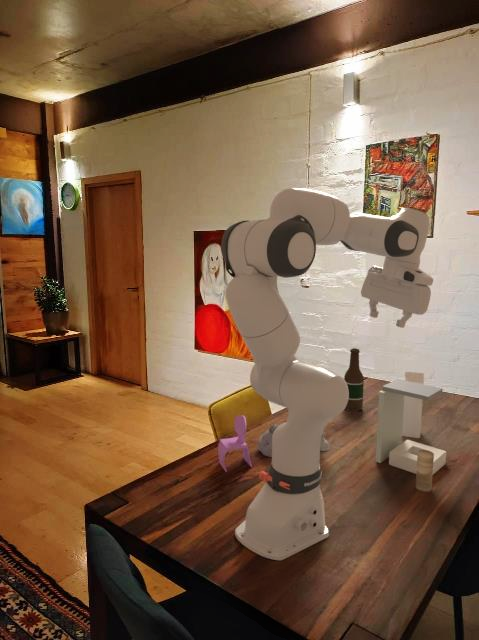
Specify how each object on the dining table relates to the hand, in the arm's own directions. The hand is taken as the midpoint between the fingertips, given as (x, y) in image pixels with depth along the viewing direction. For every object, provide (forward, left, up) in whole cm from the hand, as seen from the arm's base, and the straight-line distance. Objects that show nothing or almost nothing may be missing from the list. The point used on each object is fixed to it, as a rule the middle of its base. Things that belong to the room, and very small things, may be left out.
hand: (386, 321), depth 126 cm
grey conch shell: (-9, +30, -45) cm, 55 cm away
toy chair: (-25, +33, -44) cm, 61 cm away
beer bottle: (+42, +33, -44) cm, 70 cm away
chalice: (+3, +21, -44) cm, 49 cm away
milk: (+33, +5, -44) cm, 56 cm away
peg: (+1, -13, -44) cm, 46 cm away
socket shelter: (+13, -4, -44) cm, 46 cm away
